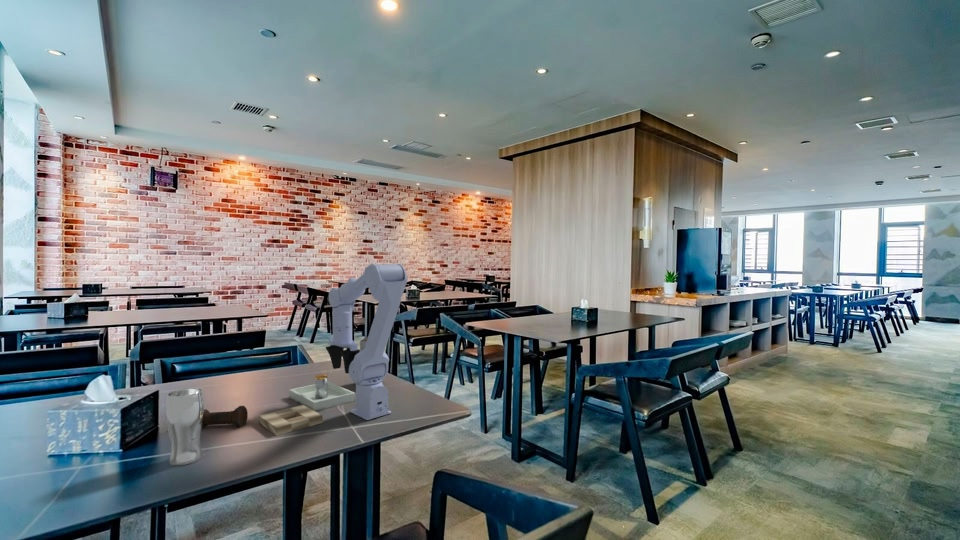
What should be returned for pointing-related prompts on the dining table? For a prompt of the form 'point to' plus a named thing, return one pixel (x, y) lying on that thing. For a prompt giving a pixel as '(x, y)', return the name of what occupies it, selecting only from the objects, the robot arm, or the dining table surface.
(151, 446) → the dining table surface
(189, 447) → the beer glass
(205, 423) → the dark brown dumbbell
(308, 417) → the wooden square frame
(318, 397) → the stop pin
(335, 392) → the parts tray
